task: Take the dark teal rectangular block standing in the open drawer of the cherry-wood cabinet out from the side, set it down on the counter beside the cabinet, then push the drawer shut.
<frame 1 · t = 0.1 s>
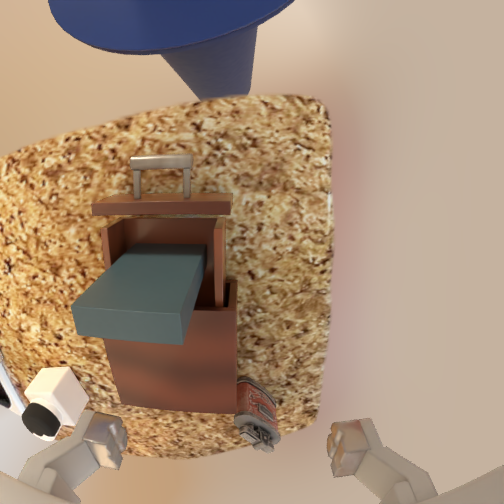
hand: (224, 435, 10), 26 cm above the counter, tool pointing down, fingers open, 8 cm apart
lighter: (255, 392, 42), on the counter
cabinet: (180, 330, 38), on the counter
medicine bottle: (65, 382, 42), on the counter
dark teal rectangular block: (170, 254, 33), point 2 cm above the counter, touching drawer
drawer: (165, 242, 31), point 4 cm above the counter, slide at 9.0 cm, touching dark teal rectangular block
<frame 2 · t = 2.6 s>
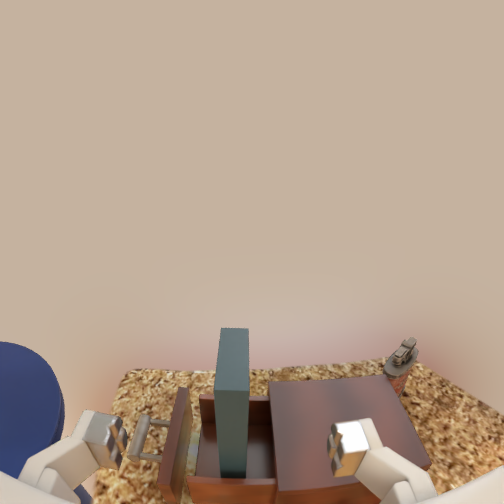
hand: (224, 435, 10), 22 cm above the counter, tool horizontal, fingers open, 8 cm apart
lighter: (387, 399, 39), on the counter
cabinet: (330, 462, 29), on the counter
dark teal rectangular block: (234, 458, 28), point 2 cm above the counter, touching drawer
drawer: (216, 449, 27), point 4 cm above the counter, slide at 9.0 cm, touching dark teal rectangular block
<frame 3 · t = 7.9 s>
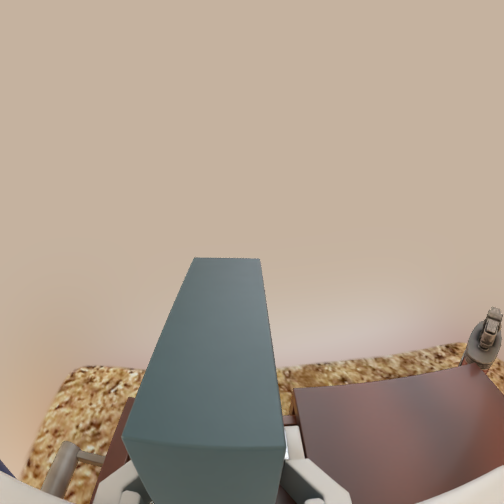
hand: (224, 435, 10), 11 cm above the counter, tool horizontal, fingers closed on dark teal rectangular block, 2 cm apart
lighter: (457, 402, 23), on the counter
when the fingers open (9 cm above the counter, at t = 17.7 s): dark teal rectangular block stays where it is, on the counter.
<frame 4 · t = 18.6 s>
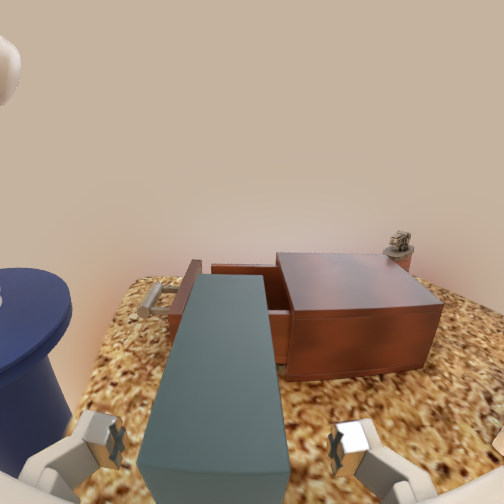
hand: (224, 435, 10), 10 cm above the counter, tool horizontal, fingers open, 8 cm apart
lighter: (390, 297, 43), on the counter
cabinet: (341, 336, 33), on the counter
drawer: (227, 308, 32), point 4 cm above the counter, slide at 9.0 cm
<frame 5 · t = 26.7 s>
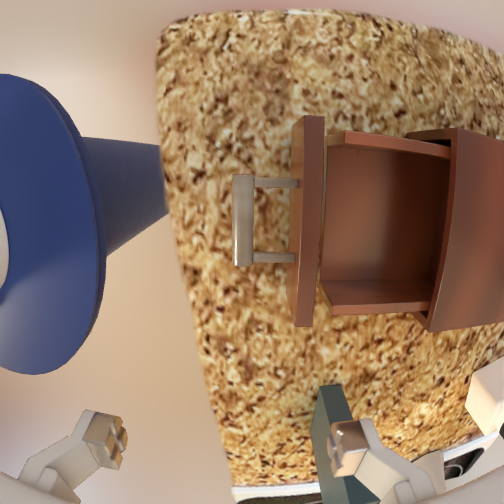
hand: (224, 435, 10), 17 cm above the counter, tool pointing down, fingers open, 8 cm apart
cabinet: (462, 219, 25), on the counter
medicine bottle: (485, 379, 31), on the counter
dark teal rectangular block: (324, 410, 31), on the counter
flask: (423, 461, 36), on the counter
drawer: (358, 221, 21), point 4 cm above the counter, slide at 9.0 cm
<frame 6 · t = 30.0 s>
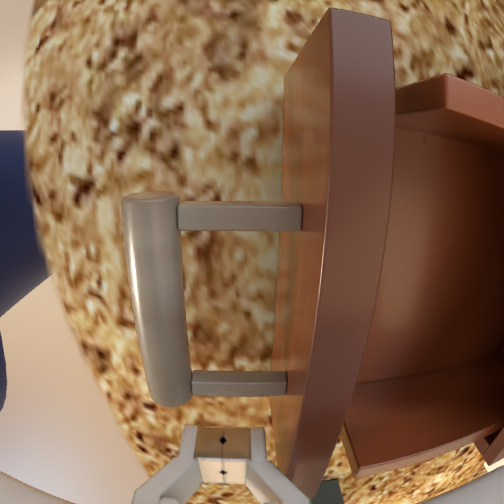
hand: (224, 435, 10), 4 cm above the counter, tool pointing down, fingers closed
dark teal rectangular block: (314, 500, 19), on the counter
drawer: (427, 294, 9), point 4 cm above the counter, slide at 8.2 cm, touching gripper
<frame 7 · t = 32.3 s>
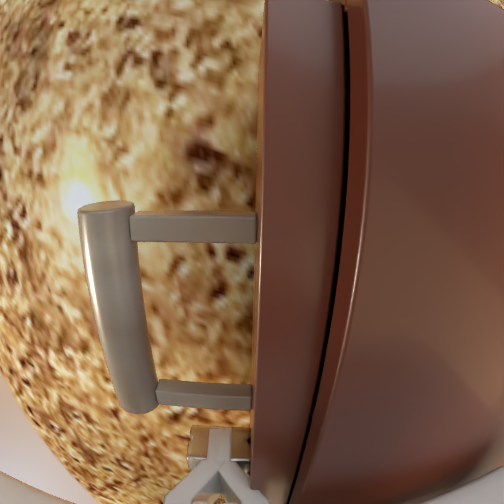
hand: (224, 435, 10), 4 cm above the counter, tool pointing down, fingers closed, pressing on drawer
cabinet: (444, 264, 12), on the counter
drawer: (410, 309, 8), point 4 cm above the counter, slide at 0.0 cm, touching cabinet, gripper
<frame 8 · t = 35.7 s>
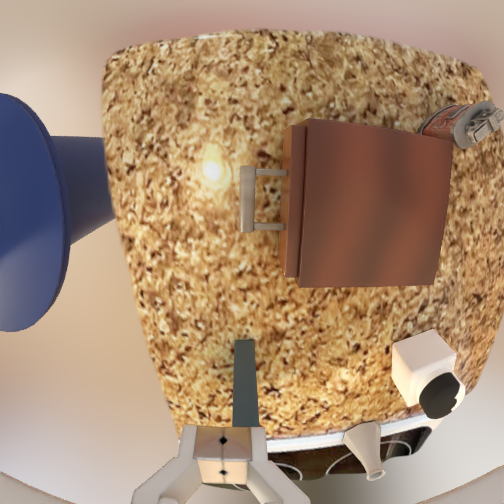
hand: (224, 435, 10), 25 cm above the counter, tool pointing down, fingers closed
lighter: (438, 125, 30), on the counter
cabinet: (355, 197, 33), on the counter
medicine bottle: (411, 352, 40), on the counter
dark teal rectangular block: (244, 364, 39), on the counter
flask: (361, 432, 46), on the counter
drawer: (332, 201, 29), point 4 cm above the counter, slide at 0.0 cm, touching cabinet
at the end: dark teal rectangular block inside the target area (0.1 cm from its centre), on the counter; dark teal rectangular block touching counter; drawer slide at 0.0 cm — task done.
